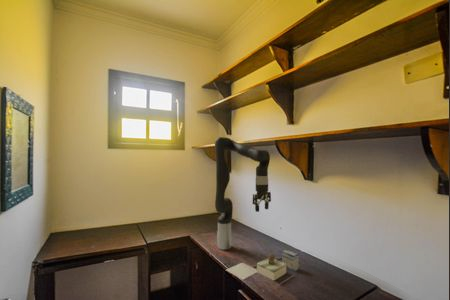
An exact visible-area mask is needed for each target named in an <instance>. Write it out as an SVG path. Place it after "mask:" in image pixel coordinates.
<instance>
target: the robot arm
mask: <svg viewBox="0 0 450 300" xmlns="http://www.w3.org/2000/svg"><path fill="white" fill-rule="evenodd" d="M214 150H215V165H216V172H215V173H216V174H215V177H216V178H215V179H216V181H215V182H216V187H215V188H216V189H215V191H216V192H215V202H214V207H215V211H216V213H218V214H220V216H218V217H217V232H216V246H217V248H218V249H219V250H223V251H225V250H229V249H231V248H232V220H233V211H234V210H233V201H232V200H231V198H229V197H225V195H226V191H227V188H228V185H229V183H230V179H231V177H230V175H231V173H230V170H231V169H230V167H229V165H228V162H227V161H226V157H225V156H226V155H225V151H228V152H229V151H232V152H235V153H238V155H240V156H243V157H246V158H249V159H251V160H252V161H255V162H257V163H258V165H257V166H256V168H255V192H256V193H253V194H252V205H254V206H255V207H254V209H255V212H257V213H258V212H260V204H261V203H262V201H264V209H265V210H269V207H270V206H269V203H271V201H272V195H271V194H272V193H271V191H269V175H268V174H269V173H268V171H269V170H268V169H269V165H270V160H271V156H270V153H269V151H268V150H264V149H256V148H254V147H253V146H251V145H250V146H249V145H246V144H243V143H238V142H236V141H235V140H233V139H231V138H229V137H226V136H225V137H224V136H221V137H220V136H218V137H217V138H216V139H215V141H214Z"/></svg>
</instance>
